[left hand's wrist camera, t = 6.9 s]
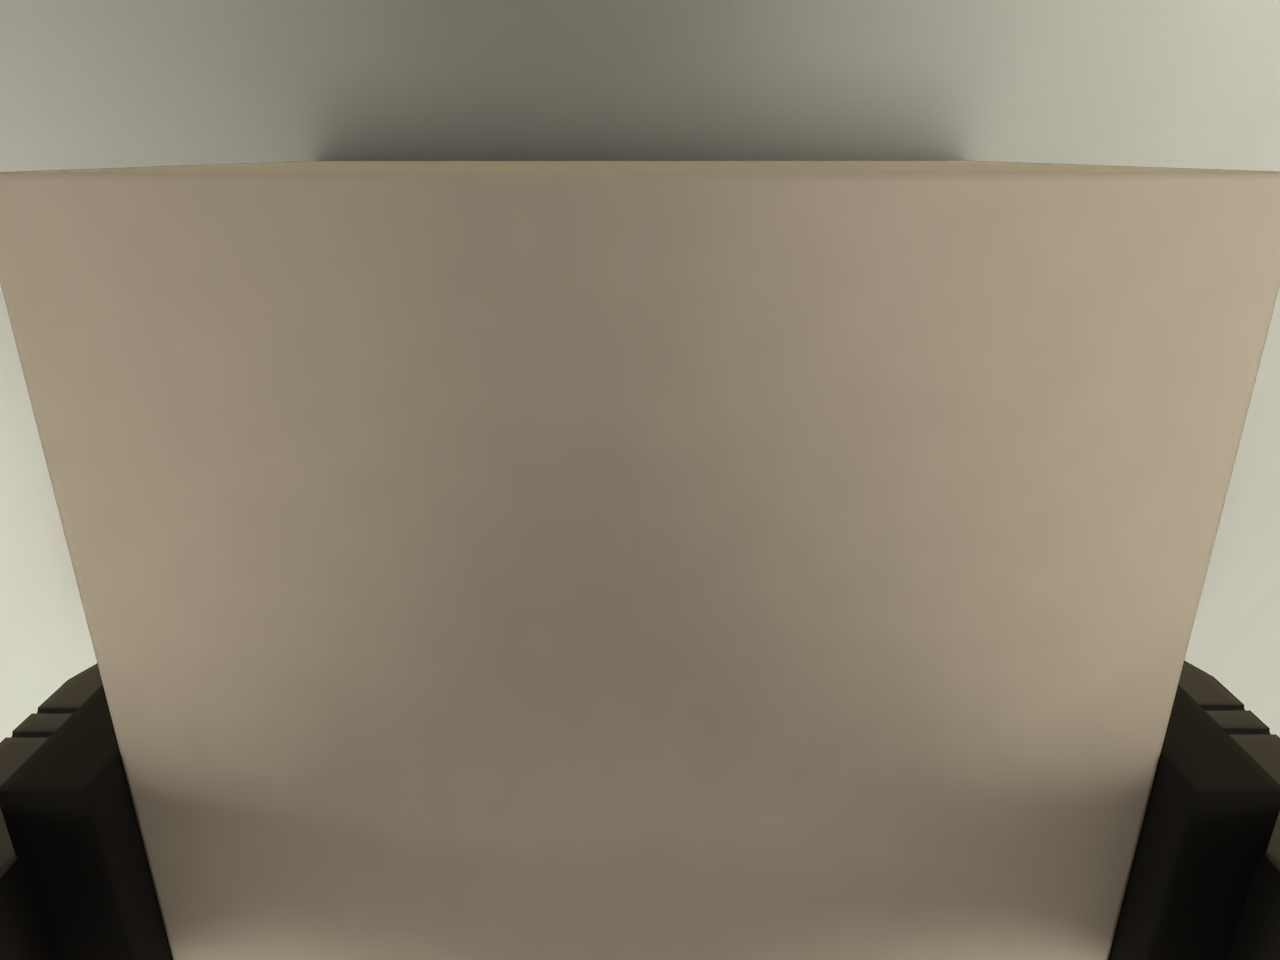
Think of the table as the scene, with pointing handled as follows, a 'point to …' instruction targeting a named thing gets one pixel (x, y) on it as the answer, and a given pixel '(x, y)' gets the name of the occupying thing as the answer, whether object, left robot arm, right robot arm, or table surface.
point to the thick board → (640, 539)
